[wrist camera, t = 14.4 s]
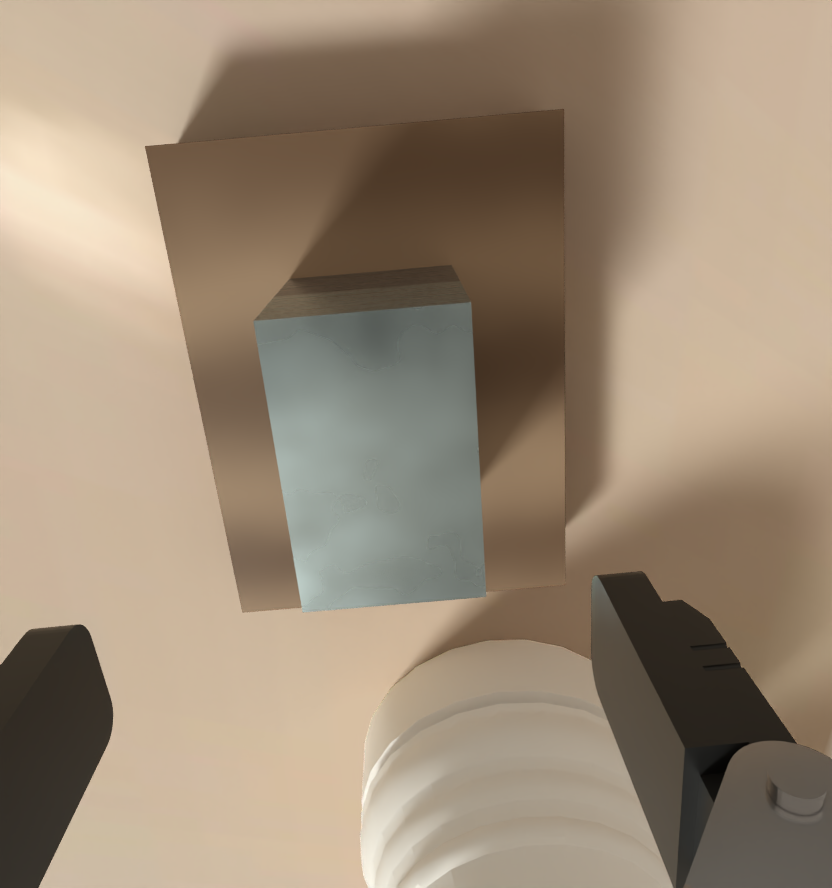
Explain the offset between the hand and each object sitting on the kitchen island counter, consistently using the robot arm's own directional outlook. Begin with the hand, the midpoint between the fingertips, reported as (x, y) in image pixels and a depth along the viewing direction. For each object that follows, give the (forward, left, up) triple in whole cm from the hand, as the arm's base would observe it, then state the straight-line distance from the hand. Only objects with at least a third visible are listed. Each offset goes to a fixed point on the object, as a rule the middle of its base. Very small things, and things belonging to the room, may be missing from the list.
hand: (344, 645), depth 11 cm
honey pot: (-19, -4, -16) cm, 25 cm away
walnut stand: (0, 0, -16) cm, 16 cm away
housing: (0, 0, -13) cm, 13 cm away
